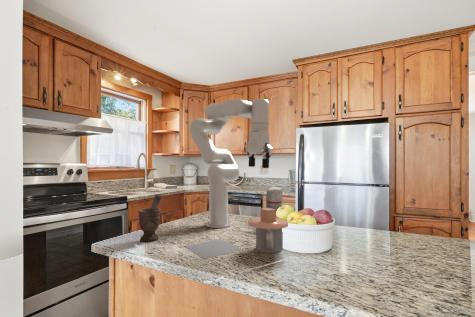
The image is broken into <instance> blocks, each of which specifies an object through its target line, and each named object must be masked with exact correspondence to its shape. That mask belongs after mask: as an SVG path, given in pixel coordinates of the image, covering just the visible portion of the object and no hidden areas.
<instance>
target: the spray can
mask: <svg viewBox="0 0 475 317" xmlns="http://www.w3.org/2000/svg"><path fill="white" fill-rule="evenodd" d="M265 199H266V200H265V201H266V204H265V208H272V209H276V211H277V209H278V208H279V207H281V206H282V207H283V188H282V187H275V186H271V187H270V188H269V189H266V197H265Z"/></svg>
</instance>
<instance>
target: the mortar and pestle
mask: <svg viewBox="0 0 475 317" xmlns="http://www.w3.org/2000/svg"><path fill="white" fill-rule="evenodd" d="M162 198H163V196H162V194H160V193H156V194H155V195H154V198H153V201H152V204H151V207H144V208H140V209H139V210H138V224H139V227H140V228H139V229H140V230H141V231H142V232H143V234H142V236H141V237H140V240H139V242H140V243H147V244H148V243H154V242H156V241H157V242H158V241H159V238H160V237H159V236H158V234H157V233H156V231H157V230H158V229H159V226H160V223H161V213H162V212H161V210H162V208H159V207H158V206H159V204H160V203H161V201H162Z"/></svg>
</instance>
